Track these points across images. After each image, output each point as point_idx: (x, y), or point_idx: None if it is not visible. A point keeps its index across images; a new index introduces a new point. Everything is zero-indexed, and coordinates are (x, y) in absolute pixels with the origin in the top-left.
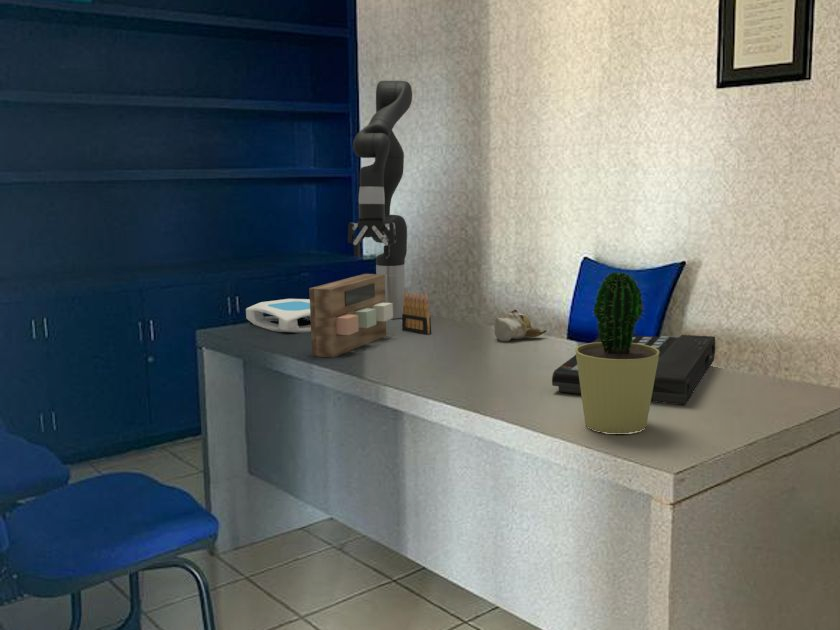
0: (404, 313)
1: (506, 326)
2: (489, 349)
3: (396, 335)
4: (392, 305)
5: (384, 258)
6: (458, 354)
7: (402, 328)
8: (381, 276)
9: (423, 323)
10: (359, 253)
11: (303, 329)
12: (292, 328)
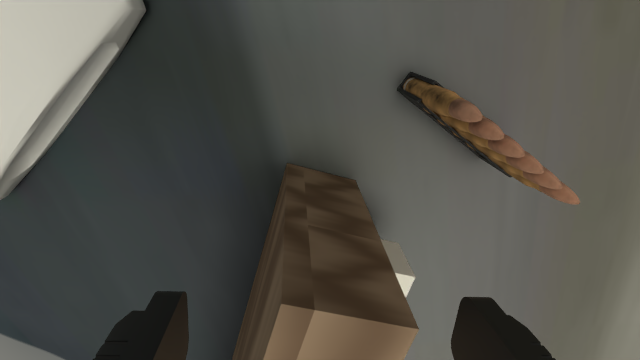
0: (429, 108)
1: None
2: (618, 304)
3: (386, 173)
4: (411, 271)
5: (455, 340)
6: None
7: (400, 92)
8: (401, 355)
9: (489, 162)
10: (172, 345)
11: (42, 153)
12: (12, 187)
